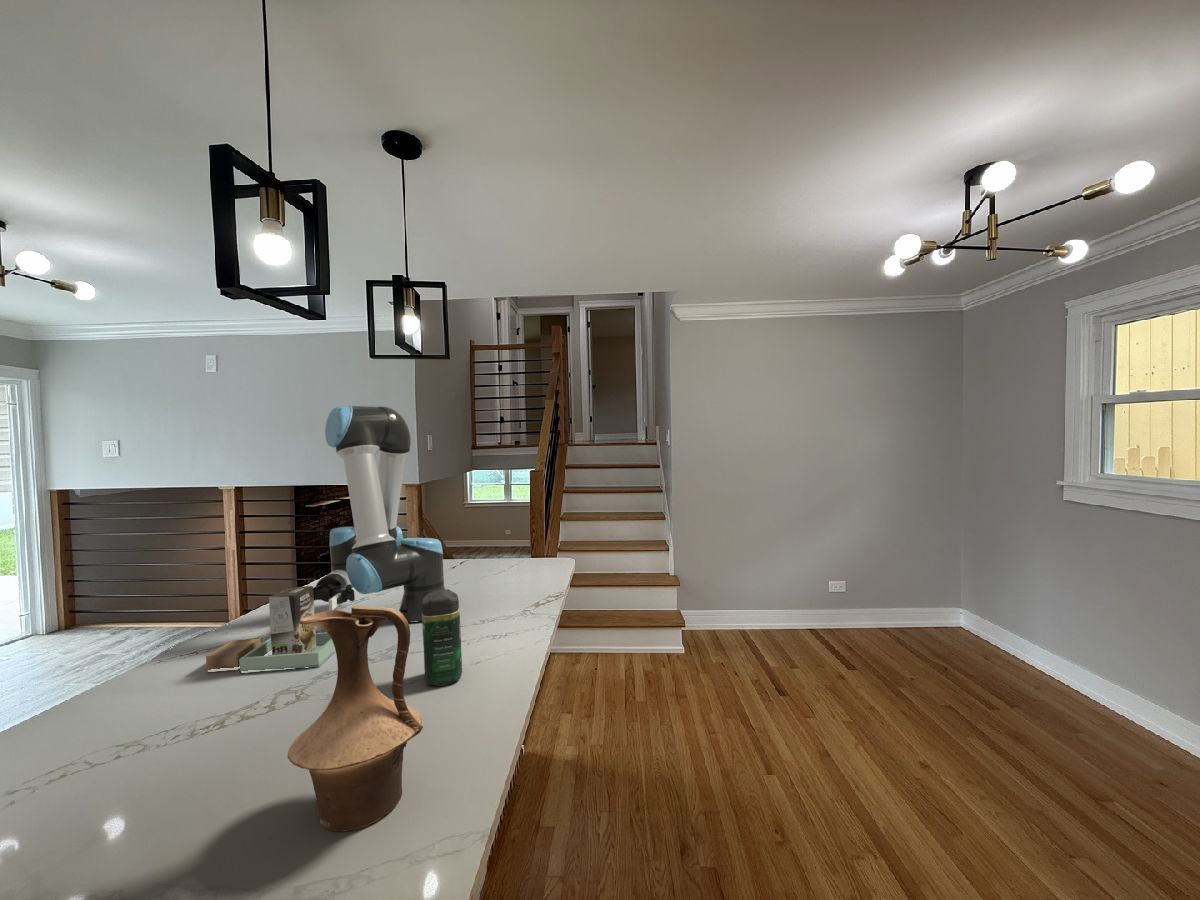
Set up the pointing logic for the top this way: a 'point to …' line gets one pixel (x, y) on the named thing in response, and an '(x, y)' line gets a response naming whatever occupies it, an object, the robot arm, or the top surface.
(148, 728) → the top surface
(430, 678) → the coffee jar
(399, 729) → the pitcher
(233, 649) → the walnut ledge
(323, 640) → the tray
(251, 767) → the top surface
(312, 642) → the coffee box
